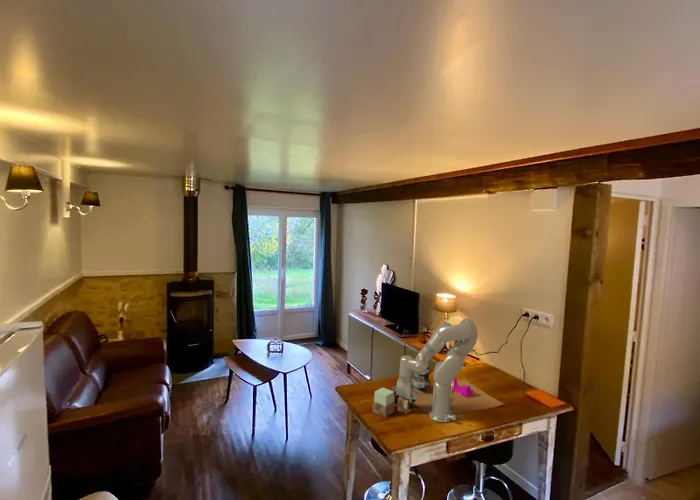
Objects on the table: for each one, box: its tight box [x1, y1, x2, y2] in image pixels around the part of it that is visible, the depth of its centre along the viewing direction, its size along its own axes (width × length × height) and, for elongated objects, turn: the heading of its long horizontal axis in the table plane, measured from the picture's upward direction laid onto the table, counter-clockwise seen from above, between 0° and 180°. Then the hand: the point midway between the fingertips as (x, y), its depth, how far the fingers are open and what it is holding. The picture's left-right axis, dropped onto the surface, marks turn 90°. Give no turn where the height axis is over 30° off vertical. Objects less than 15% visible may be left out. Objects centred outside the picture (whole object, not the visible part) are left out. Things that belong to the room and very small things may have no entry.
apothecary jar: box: [412, 363, 432, 394], centre depth 244 cm, size 12×12×18 cm
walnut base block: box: [371, 401, 396, 418], centre depth 215 cm, size 9×9×6 cm
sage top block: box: [373, 387, 395, 406], centre depth 215 cm, size 8×8×6 cm
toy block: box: [453, 377, 475, 398], centre depth 244 cm, size 15×6×8 cm, turn 26°
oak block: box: [396, 396, 413, 414], centre depth 218 cm, size 6×6×7 cm
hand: (403, 405), depth 218 cm, fingers open, 9 cm apart
